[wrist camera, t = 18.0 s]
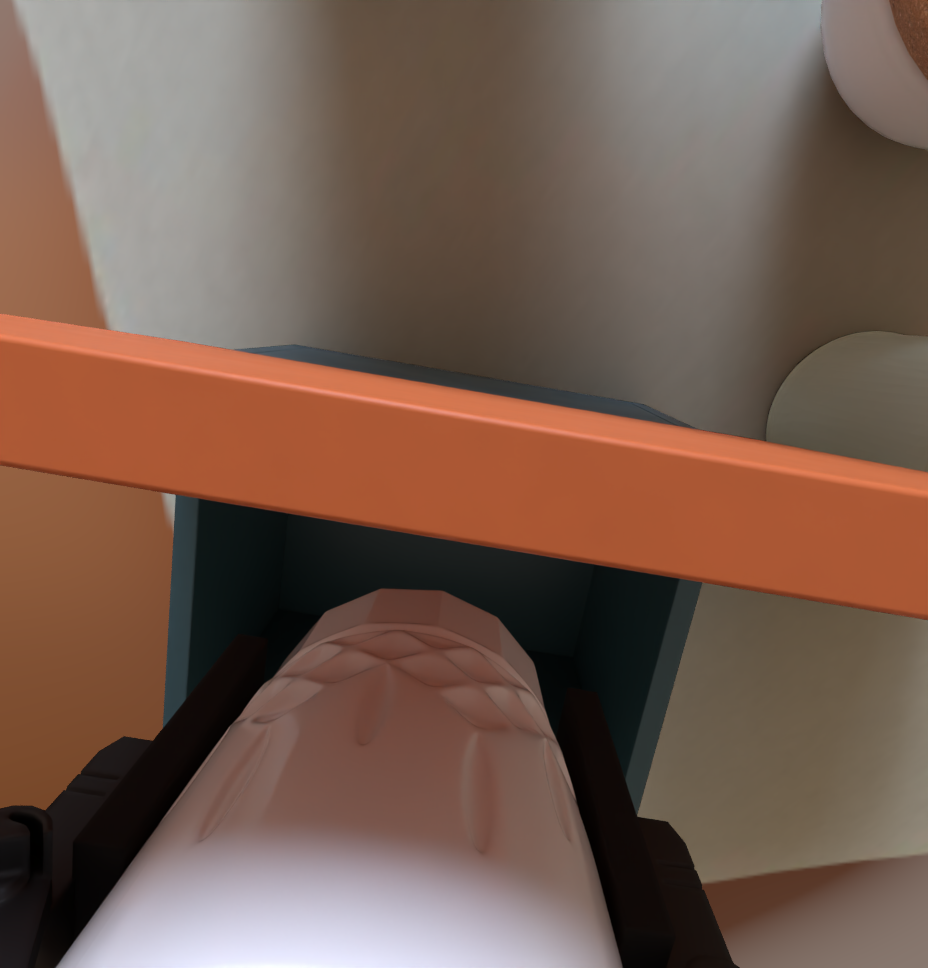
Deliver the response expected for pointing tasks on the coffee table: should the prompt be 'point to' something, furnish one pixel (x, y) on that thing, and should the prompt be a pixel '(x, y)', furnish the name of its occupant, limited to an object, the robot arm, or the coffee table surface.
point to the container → (432, 586)
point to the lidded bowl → (881, 63)
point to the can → (858, 400)
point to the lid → (462, 466)
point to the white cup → (372, 815)
